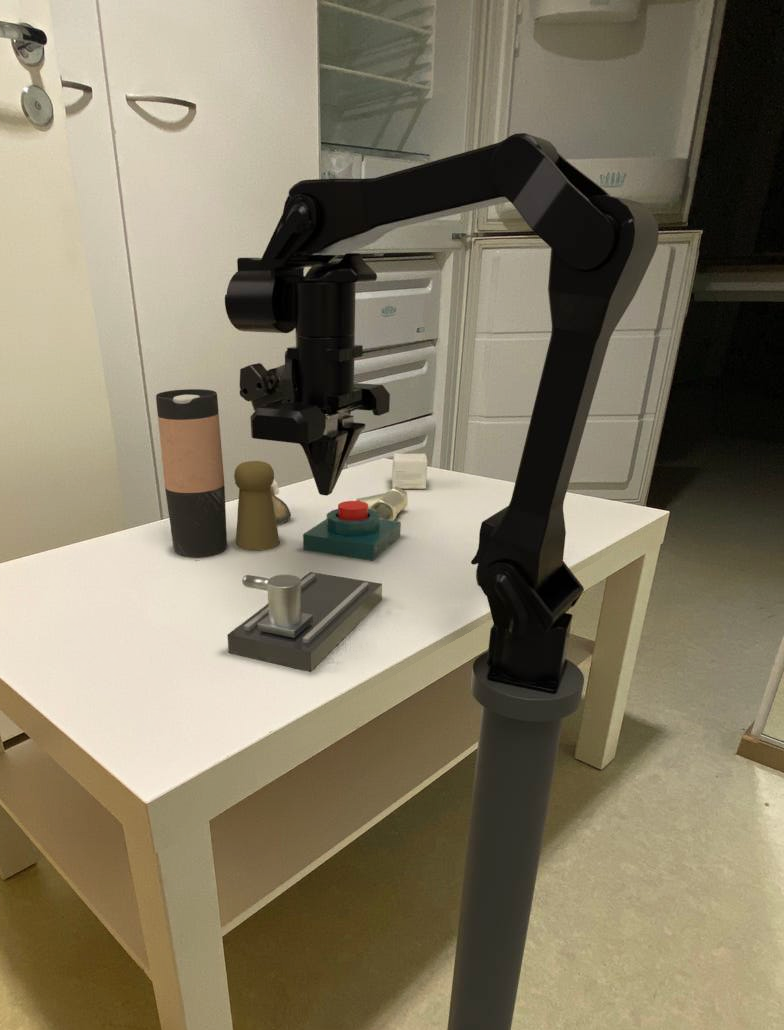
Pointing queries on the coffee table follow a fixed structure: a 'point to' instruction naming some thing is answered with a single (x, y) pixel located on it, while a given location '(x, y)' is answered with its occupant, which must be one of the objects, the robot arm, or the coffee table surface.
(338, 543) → the button block
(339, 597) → the slide rail base
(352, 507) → the button
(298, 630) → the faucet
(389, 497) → the pipe fitting
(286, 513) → the eagle figurine
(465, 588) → the coffee table surface
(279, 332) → the robot arm
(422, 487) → the small box
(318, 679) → the coffee table surface
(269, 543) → the brown tapered upright piece
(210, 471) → the travel mug
